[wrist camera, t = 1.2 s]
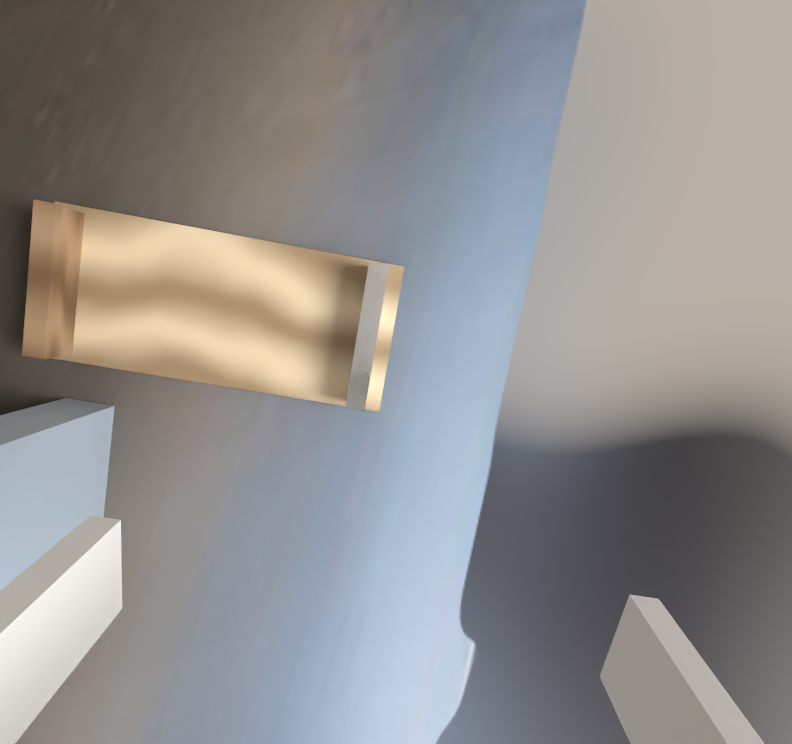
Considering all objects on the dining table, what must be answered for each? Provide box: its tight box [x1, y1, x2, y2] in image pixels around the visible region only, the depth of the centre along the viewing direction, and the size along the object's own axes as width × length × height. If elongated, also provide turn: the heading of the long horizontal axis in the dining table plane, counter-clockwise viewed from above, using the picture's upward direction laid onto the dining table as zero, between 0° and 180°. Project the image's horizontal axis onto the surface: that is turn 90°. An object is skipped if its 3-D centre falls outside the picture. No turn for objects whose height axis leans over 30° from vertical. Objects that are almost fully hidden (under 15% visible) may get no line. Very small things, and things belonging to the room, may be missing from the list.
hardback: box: [0, 398, 115, 591], centre depth 30 cm, size 4×11×14 cm, turn 170°
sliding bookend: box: [345, 262, 389, 411], centre depth 34 cm, size 11×2×3 cm, turn 170°
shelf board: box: [22, 200, 404, 411], centre depth 34 cm, size 12×27×4 cm, turn 80°
